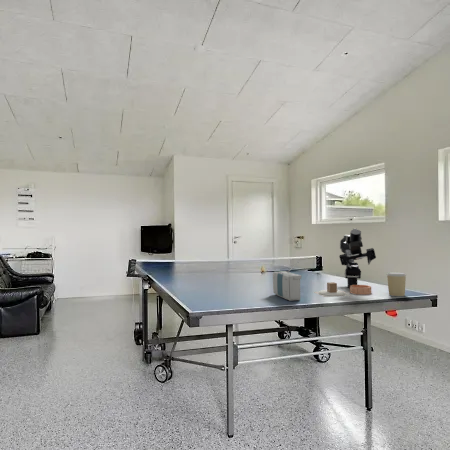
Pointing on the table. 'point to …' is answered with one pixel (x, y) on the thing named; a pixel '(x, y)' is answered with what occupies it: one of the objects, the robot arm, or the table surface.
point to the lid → (332, 290)
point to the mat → (332, 296)
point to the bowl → (360, 289)
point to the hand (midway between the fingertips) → (359, 265)
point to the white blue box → (287, 285)
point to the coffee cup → (396, 283)
